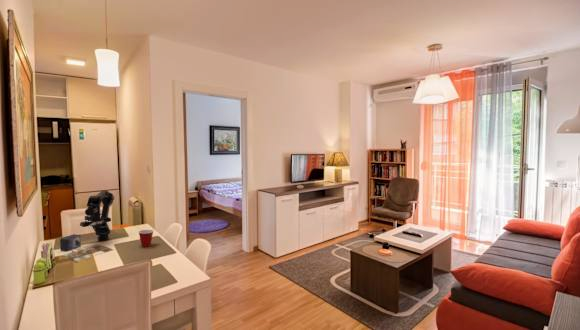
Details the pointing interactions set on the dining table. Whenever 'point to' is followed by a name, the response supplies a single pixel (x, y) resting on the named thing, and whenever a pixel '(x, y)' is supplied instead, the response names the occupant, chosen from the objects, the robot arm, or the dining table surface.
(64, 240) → the small box
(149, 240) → the plastic cup
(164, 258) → the dining table surface
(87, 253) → the trap deck
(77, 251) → the maple block
